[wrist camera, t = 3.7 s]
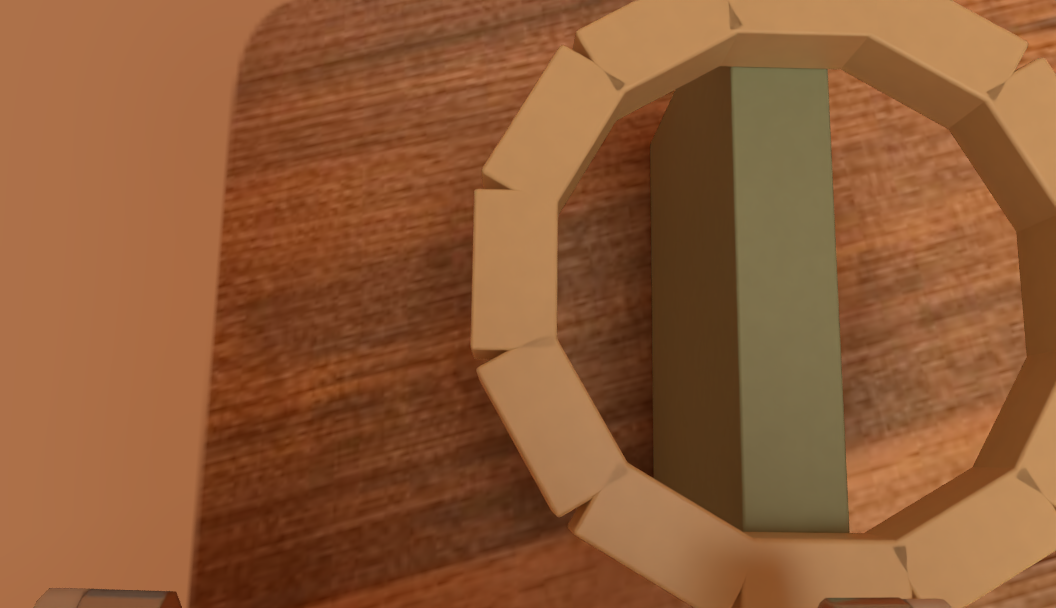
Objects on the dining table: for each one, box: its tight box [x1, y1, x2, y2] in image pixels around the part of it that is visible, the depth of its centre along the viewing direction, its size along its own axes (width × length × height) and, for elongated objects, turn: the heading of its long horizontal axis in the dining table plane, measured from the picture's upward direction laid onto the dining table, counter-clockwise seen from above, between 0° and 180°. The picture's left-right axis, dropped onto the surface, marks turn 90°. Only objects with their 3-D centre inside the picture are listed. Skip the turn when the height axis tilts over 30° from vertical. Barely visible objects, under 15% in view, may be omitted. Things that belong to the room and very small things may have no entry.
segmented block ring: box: [470, 0, 1056, 608], centre depth 17 cm, size 12×12×2 cm
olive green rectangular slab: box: [650, 66, 849, 533], centre depth 22 cm, size 2×13×10 cm, turn 179°
